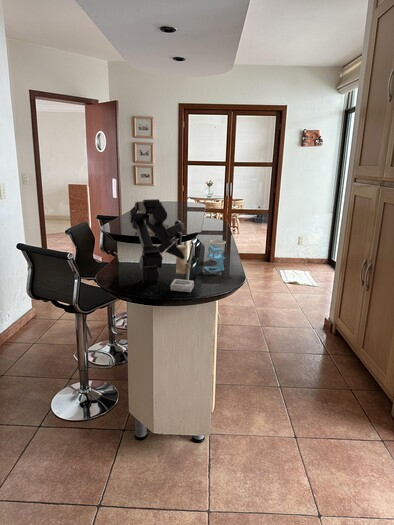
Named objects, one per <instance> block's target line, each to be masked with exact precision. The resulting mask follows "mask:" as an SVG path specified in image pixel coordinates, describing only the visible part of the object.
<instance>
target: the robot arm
mask: <svg viewBox="0 0 394 525" xmlns="http://www.w3.org/2000/svg"><path fill="white" fill-rule="evenodd" d="M140 211H142V212H140ZM128 219H129V224H131V225H130V226H131V227H132V228H133V229H134V230H136V232H137V234H138V239H139V242H140V245H141V247H142V251H141V255H140V258H139V267H140V269H141V271H142V282H141V283H142V284H158V283H159V281H160V270H159V269H162V266H163V259H164V258H163V255H162V253H164V252H165V253H167V254H170V255H172V256H174V257H176V256H177V257H179V258H181V259H184V258H185V257H184V255H183V254H182V252H181V251H180V249H179V248H178V247H177V246H178V245H183V244H182V236H183V234H184V233H183V231H184V230H185V229H186V228H185V223H184V222H183V221H180V220H179V219H178V220H175V221H174V224H172V225H169V224H165V221H166V220H167V219H168V213H167V211H166V208H165V207H164V205H163V204H162V201H161V202H160V199H158V198H157V199H143V200H142V201H135V203H134V206H133V207H132V208H131V209H130V211H129V217H128ZM149 230H150V231H151V232H152V233H153V234H154V235H153V237H154V238H157V239H158V240H159V241H160V244H159V245H158V246H157V245H154V244H153V242H152V238H151V236H150V233H149Z"/></svg>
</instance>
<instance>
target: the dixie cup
mask: <svg viewBox="0 0 394 525" xmlns="http://www.w3.org/2000/svg"><path fill="white" fill-rule="evenodd" d="M226 243H227V242H226V240H222V239H212V240H210V241H209V247H210V246H216V247H218V248H220V249H222V250H225V245H226ZM214 254H217V252H215V253H214ZM219 254H220V255H222V252H221V251H219ZM210 255H213V252H212V251H210ZM211 261H212V262H213V261H214V262H216V260H211Z"/></svg>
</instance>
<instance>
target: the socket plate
mask: <svg viewBox="0 0 394 525" xmlns="http://www.w3.org/2000/svg"><path fill="white" fill-rule="evenodd" d="M194 287H195V281H194V280H190V279H179V278H174V279H173V281H172V282H171V284H170V291H176V292H186V293H191V292H192V290H193V289H194Z"/></svg>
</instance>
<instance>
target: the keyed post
mask: <svg viewBox="0 0 394 525" xmlns="http://www.w3.org/2000/svg"><path fill="white" fill-rule="evenodd" d="M177 247H178V248H179V249H180V251H181V252H182V254H183V255H184V257H185V258H184V259H181V258H179V257H177V256H175V258H176V259H175V270H176V271H175V274H180V275H185V274H189V273H190V271H189V268H190V263H189V262H188V260H187V259H188V258H187V257H188V245H184V244H182V245H178V246H177Z"/></svg>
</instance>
